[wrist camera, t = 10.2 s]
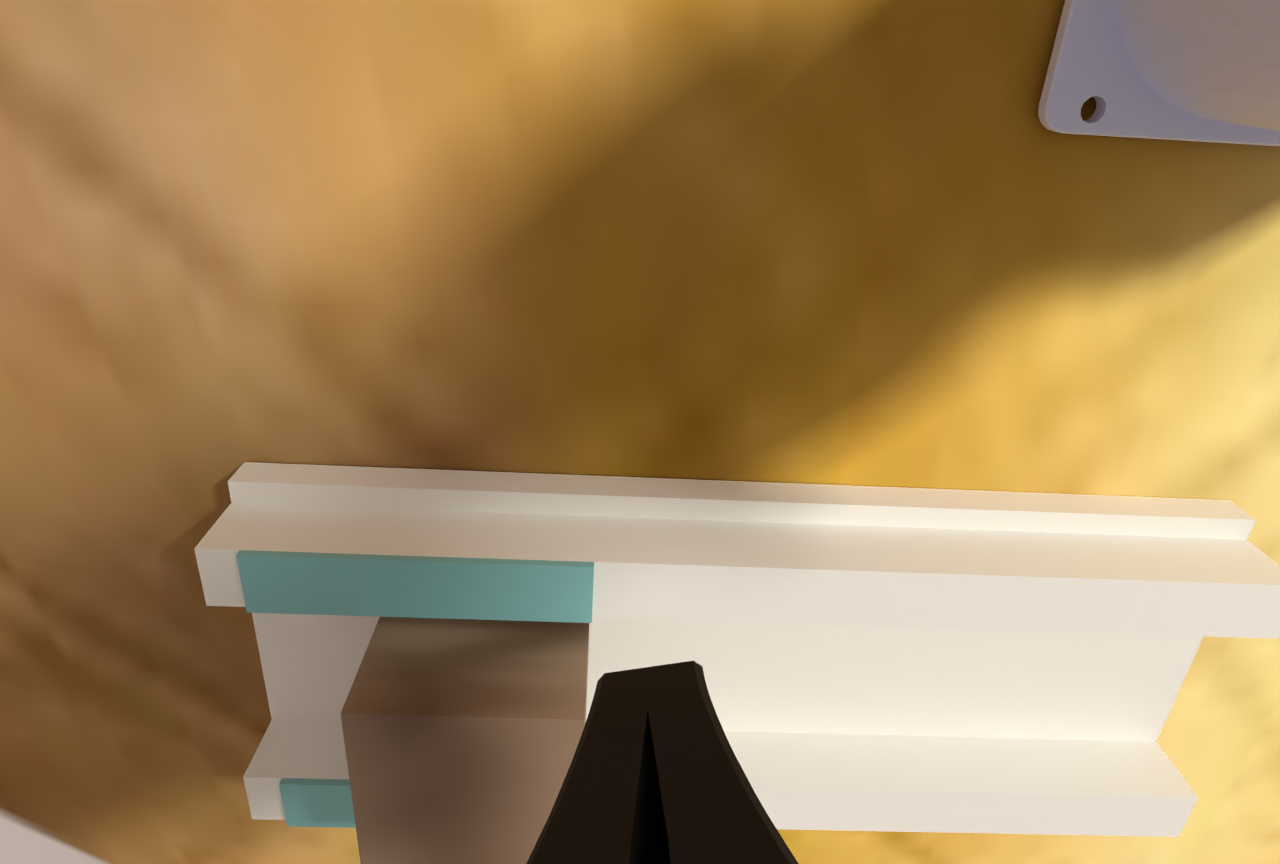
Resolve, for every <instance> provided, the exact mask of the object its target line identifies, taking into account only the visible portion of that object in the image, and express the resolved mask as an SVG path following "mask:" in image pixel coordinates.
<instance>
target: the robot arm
mask: <svg viewBox="0 0 1280 864" xmlns="http://www.w3.org/2000/svg"><path fill="white" fill-rule="evenodd" d="M1090 97H1094V99H1095V101H1096V110H1095V112H1094V114H1093V115H1092V116H1091V117H1090V118H1089V119H1087V120H1085V121H1083V119H1082V118H1081V108H1082V106H1083V104H1084V102H1085V101H1086V100H1088V99H1089V98H1090ZM1038 116H1039V119H1040V122H1041V124H1042V125H1043V126H1044V127H1045V128H1046V129H1047V130H1051V131H1054V132H1058V133H1064V134H1080V135H1097V136H1114V137H1131V138H1148V139H1165V140H1182V141H1199V142H1216V143H1233V144H1249V145H1266V146H1280V0H1065V3H1064V7H1063V11H1062V15H1061V19H1060V23H1059V27H1058V31H1057V35H1056V39H1055V43H1054V47H1053V51H1052V55H1051V59H1050V63H1049V67H1048V71H1047V75H1046V79H1045V83H1044V87H1043V91H1042V95H1041V99H1040V103H1039V111H1038ZM526 864H798V862H797V861H796V859H795V858H794V856H793V855H792V853H791V851H790V850H789V848H788V847H787V845H786V844H785V842H784V840H783V839H782V837H781V835H780V834H779V832H778V831H777V829H776V827H775V826H774V824H773V823H772V821H771V819H770V818H769V816H768V814H767V813H766V811H765V809H764V807H763V806H762V804H761V802H760V800H759V799H758V797H757V795H756V794H755V792H754V790H753V788H752V786H751V784H750V782H749V780H748V779H747V777H746V775H745V773H744V771H743V769H742V767H741V765H740V763H739V762H738V760H737V758H736V756H735V754H734V752H733V750H732V748H731V746H730V744H729V741H728V739H727V737H726V735H725V733H724V730H723V728H722V726H721V723H720V721H719V719H718V716H717V714H716V711H715V709H714V706H713V704H712V701H711V698H710V695H709V692H708V689H707V685H706V682H705V678H704V672H703V666H701V665H700V664H698V663H696V662H695V661H687V662H680V663H673V664H666V665H659V666H652V667H645V668H638V669H631V670H624V671H617V672H610V673H604V674H603V675H602V677H601V678H600V679H599V680H598V681H597V685H596V690H595V694H594V697H593V701H592V704H591V707H590V711H589V714H588V717H587V720H586V723H585V726H584V729H583V732H582V735H581V738H580V740H579V743H578V746H577V749H576V751H575V754H574V757H573V760H572V762H571V764H570V767H569V769H568V772H567V774H566V777H565V779H564V782H563V784H562V786H561V789H560V791H559V794H558V796H557V799H556V801H555V803H554V806H553V808H552V810H551V813H550V815H549V817H548V819H547V822H546V824H545V826H544V828H543V830H542V832H541V834H540V836H539V838H538V840H537V842H536V844H535V847H534V849H533V851H532V853H531V855H530V857H529V859H528V861H527V863H526Z"/></svg>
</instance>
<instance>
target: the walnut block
mask: <svg viewBox="0 0 1280 864" xmlns="http://www.w3.org/2000/svg"><path fill="white" fill-rule="evenodd" d="M588 649H589V623H575V622H542V621H509V620H476V619H443V618H410V617H379V620H378V622H377V625H376V627H375V630H374V632H373V635H372V637H371V640H370V642H369V645H368V647H367V650H366V652H365V654H364V657H363V659H362V662H361V664H360V667H359V669H358V672H357V674H356V677H355V679H354V682H353V684H352V687H351V689H350V692H349V694H348V697H347V699H346V701H345V704H344V706H343V709H342V711H341V721H342V728H343V736H344V743H345V750H346V758H347V765H348V773H349V780H350V787H351V795H352V802H353V810H354V817H355V824H356V832H357V839H358V847H359V854H360V861H361V864H526V863H527V861H528V859H529V857H530V855H531V853H532V851H533V849H534V847H535V844H536V842H537V840H538V838H539V836H540V834H541V832H542V830H543V828H544V826H545V824H546V822H547V819H548V817H549V815H550V813H551V810H552V808H553V806H554V803H555V801H556V799H557V796H558V794H559V791H560V789H561V786H562V784H563V782H564V779H565V777H566V774H567V772H568V769H569V767H570V764H571V762H572V760H573V757H574V754H575V751H576V749H577V746H578V743H579V740H580V738H581V735H582V732H583V729H584V726H585V723H586V702H587V675H588Z"/></svg>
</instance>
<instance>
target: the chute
mask: <svg viewBox="0 0 1280 864" xmlns="http://www.w3.org/2000/svg"><path fill="white" fill-rule="evenodd" d="M228 487H229V492H230V498H231V504H230V505H229V506H228V508H227V509H226V510H225V511H224V512H223V514H222V515H221V516H220V517H219V519H218V520H217V521H216V522H215V524H214V525H213V526H212V527H211V528H210V530H209V531H208V532H207V533H206V535H205V536H204V537H203V538H202V540H201V541H200V542H199V543H198V544H197V546H196V547H195V548H194V550H195V555H196V559H197V564H198V569H199V573H200V578H201V583H202V587H203V592H204V597H205V601H206V606H230V607H246V612H247V613H252V617H253V622H254V627H255V633H256V638H257V644H258V649H259V654H260V660H261V665H262V671H263V676H264V682H265V687H266V692H267V698H268V703H269V709H270V714H271V719H272V720H271V722H270V724H269V726H268V728H267V730H266V732H265V734H264V736H263V738H262V740H261V742H260V744H259V746H258V748H257V750H256V752H255V754H254V756H253V758H252V760H251V762H250V764H249V766H248V768H247V770H246V772H245V774H244V776H243V779H244V784H245V789H246V793H247V798H248V803H249V807H250V812H251V817H252V819H266V820H286V824H287V826H296V827H350V828H356V824H355V817H354V810H353V802H352V795H351V787H350V780H349V773H348V765H347V758H346V750H345V743H344V736H343V728H342V721H341V711H342V709H343V706H344V704H345V701H346V699H347V697H348V694H349V692H350V689H351V687H352V684H353V682H354V679H355V677H356V674H357V672H358V669H359V667H360V664H361V662H362V659H363V657H364V654H365V652H366V650H367V647H368V645H369V642H370V640H371V637H372V635H373V632H374V630H375V627H376V625H377V622H378V620H379V617H410V618H443V619H476V620H509V621H542V622H575V623H589V649H588V675H587V702H586V720H587V717H588V714H589V711H590V707H591V704H592V701H593V697H594V694H595V690H596V685H597V681H598V680H599V679H600V678H601V677H602V675H603V674H604V673H610V672H617V671H624V670H631V669H638V668H645V667H652V666H659V665H666V664H673V663H680V662H687V661H695V662H696V663H698V664H700V665H701V666H703V672H704V678H705V682H706V685H707V689H708V692H709V695H710V698H711V701H712V704H713V706H714V709H715V711H716V714H717V716H718V719H719V721H720V723H721V726H722V728H723V730H724V733H725V735H726V737H727V739H728V741H729V744H730V746H731V748H732V750H733V752H734V754H735V756H736V758H737V760H738V762H739V763H740V765H741V767H742V769H743V771H744V773H745V775H746V777H747V779H748V780H749V782H750V784H751V786H752V788H753V790H754V792H755V794H756V795H757V797H758V799H759V800H760V802H761V804H762V806H763V807H764V809H765V811H766V813H767V814H768V816H769V818H770V819H771V821H772V823H773V824H774V826H775V827H776V829H793V830H845V831H898V832H951V833H1003V834H1056V835H1109V836H1162V837H1179V835H1180V833H1181V831H1182V829H1183V827H1184V825H1185V823H1186V821H1187V819H1188V817H1189V815H1190V813H1191V811H1192V809H1193V807H1194V805H1195V803H1196V801H1197V799H1198V797H1197V795H1196V794H1195V793H1194V791H1193V790H1192V789H1191V787H1190V786H1189V785H1188V783H1187V782H1186V781H1185V779H1184V778H1183V777H1182V775H1181V774H1180V773H1179V771H1178V770H1177V769H1176V767H1175V766H1174V765H1173V763H1172V762H1171V761H1170V759H1169V758H1168V757H1167V755H1166V754H1165V753H1164V751H1163V750H1162V749H1161V747H1160V746H1159V745H1158V743H1157V742H1156V741H1157V739H1158V736H1159V734H1160V732H1161V730H1162V728H1163V725H1164V723H1165V721H1166V719H1167V716H1168V714H1169V712H1170V710H1171V708H1172V705H1173V703H1174V701H1175V699H1176V696H1177V694H1178V692H1179V690H1180V688H1181V685H1182V683H1183V681H1184V679H1185V676H1186V674H1187V672H1188V670H1189V668H1190V665H1191V663H1192V661H1193V659H1194V656H1195V654H1196V652H1197V650H1198V648H1199V645H1200V643H1201V641H1202V639H1203V636H1210V637H1243V638H1276V639H1278V637H1279V635H1280V566H1279V565H1278V564H1276V563H1275V562H1274V561H1273V560H1272V559H1270V558H1269V557H1268V556H1267V555H1265V554H1264V553H1263V552H1262V551H1261V550H1259V549H1258V548H1257V547H1256V546H1254V545H1253V544H1252V543H1251V542H1249V541H1248V540H1247V539H1248V536H1249V534H1250V532H1251V530H1252V527H1253V525H1254V523H1255V521H1256V520H1255V519H1254V518H1253V517H1251V516H1250V515H1249V514H1247V513H1246V512H1245V511H1244V510H1242V509H1241V508H1240V507H1238V506H1237V505H1236V504H1235V503H1233V502H1232V501H1231V500H1214V499H1188V498H1162V497H1136V496H1110V495H1084V494H1058V493H1032V492H1007V491H981V490H955V489H929V488H903V487H877V486H851V485H825V484H799V483H773V482H747V481H721V480H695V479H669V478H643V477H617V476H591V475H565V474H539V473H513V472H487V471H461V470H436V469H410V468H384V467H358V466H332V465H306V464H280V463H254V462H244V463H243V464H242V465H241V466H240V468H239V469H238V470H237V471H236V472H235V473H234V475H233V476H232V477H231V478H230V479H229V480H228Z"/></svg>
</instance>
